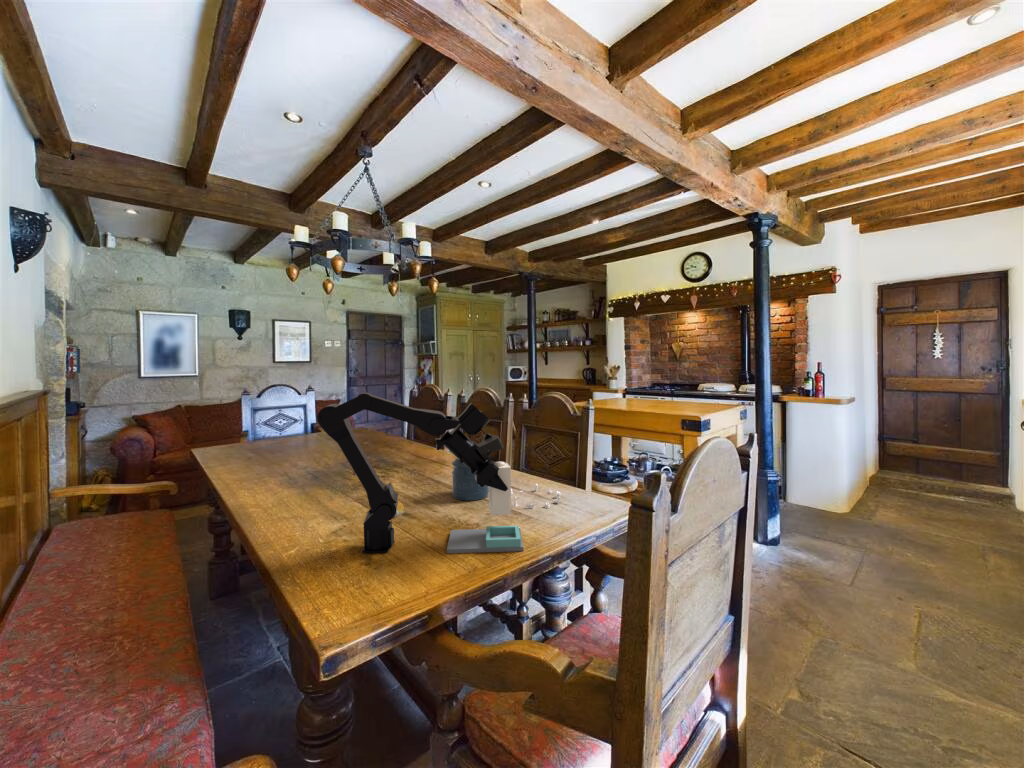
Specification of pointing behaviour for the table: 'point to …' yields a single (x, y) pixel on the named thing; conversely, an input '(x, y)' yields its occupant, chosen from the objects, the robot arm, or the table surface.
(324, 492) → the table surface
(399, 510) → the bread roll
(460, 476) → the canister
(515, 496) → the game piece set
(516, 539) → the baseplate
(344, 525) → the table surface
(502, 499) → the column
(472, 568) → the table surface
